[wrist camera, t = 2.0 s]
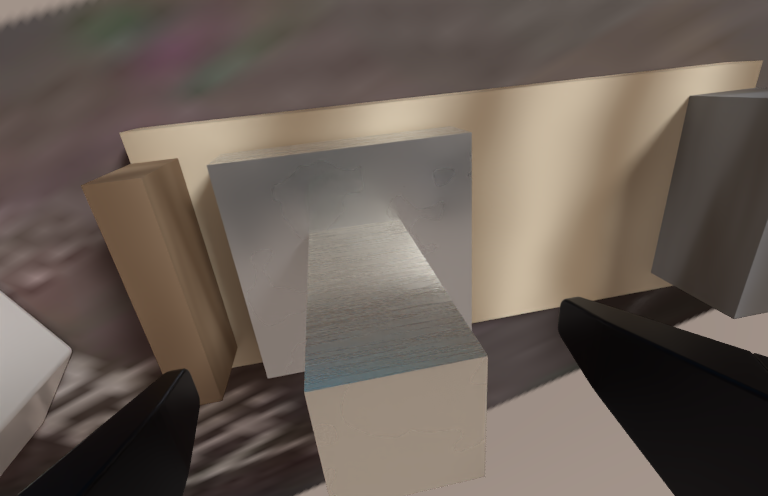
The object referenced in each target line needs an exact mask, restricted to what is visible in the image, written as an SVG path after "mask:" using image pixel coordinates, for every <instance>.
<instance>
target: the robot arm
mask: <svg viewBox="0 0 768 496" xmlns="http://www.w3.org/2000/svg"><path fill="white" fill-rule="evenodd" d="M558 331H559V334H560V336H561V338H562V340H563V341H564V343H565V344H566V346H567V348H568V349H569V351H570V352H571V354H572V356H573V357H574V359H575V361H576V362H577V364H578V365H579V367H580V369H581V370H582V372H583V374H584V375H585V377H586V378H587V380H588V381H589V383H590V384H591V386H592V388H593V389H594V390H595V392H596V393H597V394H598V396H599V397H600V398H601V400H602V401H603V402H604V404H605V405H606V406H607V408H608V409H609V410H610V412H611V413H612V414H613V415H614V417H615V418H616V419H617V421H618V422H619V423H620V425H621V426H622V427H623V429H624V430H625V431H626V433H627V434H628V435H629V436H630V438H631V439H632V440H633V442H634V443H635V444H636V446H637V447H638V448H639V450H640V451H641V452H642V454H643V455H644V456H645V457H646V459H647V460H648V461H649V462H650V464H651V465H652V467H653V468H654V469H655V471H656V472H657V473H658V474H659V476H660V477H661V478H662V480H663V481H664V482H665V483H666V485H667V486H668V488H669V489H670V490H671V491H672V493H673V494H674V495H675V496H768V357H766V356H763V355H759V354H756V353H754V354H752V353H751V352H750V351H747V350H744V349H741V348H738V347H735V346H731V345H728V344H725V343H722V342H719V341H716V340H713V339H710V338H707V337H703V336H700V335H697V334H694V333H691V332H688V331H685V330H681V329H679V328H676V327H672V326H669V325H666V324H663V323H660V322H657V321H654V320H651V319H648V318H644V317H641V316H638V315H635V314H632V313H629V312H626V311H623V310H620V309H617V308H613V307H610V306H607V305H604V304H601V303H598V302H595V301H592V300H589V299H585V298H582V297H572V298H566V299H564V300H562V302H561V304H560V311H559V320H558ZM199 408H200V398H199V394H198V391H197V389H196V386H195V384H194V381H193V379H192V376H191V374H190V372H189V371H188V370H187V369H185V368H183V369H177V370H172V371H168V372H166V373H164V374H163V375H162V376H161V377H160V378H158V379H157V380H156V381H155V382H154V383H152V384H151V385H150V386H149V387H147V388H146V389H145V390H144V391H143V392H141V393H140V394H139V395H138V396H137V397H135V398H134V399H133V400H132V401H131V402H129V403H128V404H127V405H126V406H124V407H123V408H122V409H121V410H120V411H118V412H117V413H116V414H115V415H114V416H112V417H111V418H110V419H109V420H108V421H106V422H105V423H104V424H103V425H101V426H100V427H99V428H98V429H97V430H95V431H94V432H93V433H92V434H91V435H89V436H88V437H87V438H86V439H85V440H83V441H82V442H81V443H80V444H78V445H77V446H76V447H75V448H74V449H72V450H71V451H70V452H69V453H68V454H66V455H65V456H64V457H63V458H61V459H60V460H59V461H58V462H57V463H55V464H54V465H53V466H52V467H51V468H49V469H48V470H47V471H46V472H45V473H43V474H42V475H41V476H40V477H38V478H37V479H36V480H35V481H34V482H32V483H31V484H30V485H29V486H28V487H26V488H25V489H24V490H23V491H22V492H20V493H19V494H18V495H17V496H183V493H184V489H185V485H186V481H187V477H188V473H189V468H190V463H191V457H192V451H193V445H194V439H195V433H196V426H197V420H198V414H199Z"/></svg>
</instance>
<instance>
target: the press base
mask: <svg viewBox="0 0 768 496" xmlns="http://www.w3.org/2000/svg"><path fill="white" fill-rule="evenodd" d="M762 62H763V60H762V61H743V62H725V63H716V64H707V65H698V66H689V67H680V68H671V69H663V70H654V71H645V72H636V73H627V74H618V75H609V76H600V77H591V78H582V79H573V80H564V81H555V82H546V83H537V84H528V85H519V86H510V87H501V88H493V89H484V90H475V91H466V92H457V93H448V94H439V95H430V96H421V97H412V98H403V99H394V100H385V101H376V102H367V103H358V104H349V105H340V106H331V107H323V108H314V109H305V110H296V111H287V112H278V113H269V114H260V115H251V116H242V117H233V118H224V119H215V120H206V121H197V122H188V123H179V124H170V125H161V126H153V127H144V128H137V129H133V130H129V131H125V132H121V133H120V136H121V138H122V141H123V144H124V146H125V149H126V152H127V155H128V157H129V160H130V163H131V164H129V165H127V166H125V167H122V168H120V169H118V170H116V171H113V172H111V173H109V174H106V175H104V176H102V177H99V178H97V179H95V180H93V181H90V182H88V183H86V184H83V185H81V187H82V189H83V191H84V194H85V196H86V198H87V201H88V203H89V205H90V208H91V210H92V212H93V214H94V217H95V219H96V221H97V224H98V226H99V228H100V231H101V233H102V235H103V238H104V240H105V242H106V244H107V247H108V249H109V251H110V254H111V256H112V258H113V261H114V263H115V265H116V268H117V270H118V272H119V274H120V277H121V279H122V281H123V284H124V286H125V288H126V291H127V293H128V295H129V298H130V300H131V302H132V305H133V307H134V309H135V311H136V314H137V316H138V318H139V321H140V323H141V325H142V328H143V330H144V332H145V335H146V337H147V339H148V341H149V344H150V346H151V348H152V351H153V353H154V355H155V358H156V360H157V362H158V365H159V367H160V369H161V371H162V374H164V373H166V372H168V371H172V370H177V369H183V368H185V369H187V370H188V371H189V372H190V374H191V376H192V379H193V381H194V384H195V386H196V389H197V391H198V394H199V398H200V405H203V404H208V403H213V402H219V401H222V400H223V397H224V393H225V390H226V386H227V383H228V379H229V376H230V372H231V369H232V368H234V367H239V366H245V365H250V364H256V363H261V362H263V360H262V357H261V353H260V350H259V346H258V343H257V340H256V336H255V333H254V329H253V326H252V322H251V319H250V315H249V312H248V308H247V305H246V301H245V298H244V294H243V291H242V287H241V284H240V280H239V277H238V273H237V270H236V267H235V263H234V260H233V256H232V253H231V249H230V246H229V242H228V239H227V235H226V232H225V228H224V225H223V221H222V218H221V214H220V211H219V207H218V204H217V200H216V197H215V194H214V190H213V187H212V183H211V180H210V176H209V173H208V169H207V166H206V165H208V164H209V163H210V162H212V161H213V160H214V159H216V158H217V157H218V156H220V155H221V154H225V153H234V152H242V151H250V150H258V149H266V148H275V147H283V146H291V145H299V144H307V143H315V142H324V141H332V140H340V139H348V138H356V137H365V136H373V135H381V134H389V133H397V132H405V131H414V130H422V129H430V128H438V127H446V126H452V127H456V128H459V129H462V130H466V131H469V132H472V323H476V322H481V321H486V320H492V319H497V318H502V317H508V316H513V315H518V314H524V313H529V312H535V311H540V310H545V309H551V308H556V307H560V304H561V302H562V300H564V299H566V298H572V297H582V298H585V299H589V300H592V301H594V300H599V299H604V298H610V297H615V296H620V295H626V294H631V293H637V292H642V291H647V290H653V289H658V288H663V287H669V286H675V287H677V288H679V289H681V290H683V291H684V292H686V293H688V294H690V295H691V296H693V297H695V298H697V299H699V300H700V301H702V302H704V303H706V304H708V305H709V306H711V307H713V308H715V309H717V310H718V311H720V312H722V313H724V314H726V315H728V316H729V317H731V318H733V319H736V318H742V317H746V316H751V315H756V314H761V313H766V312H768V88H755V86H756V83H757V79H758V76H759V72H760V69H761V65H762Z"/></svg>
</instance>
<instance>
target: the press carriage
mask: <svg viewBox="0 0 768 496" xmlns="http://www.w3.org/2000/svg"><path fill="white" fill-rule="evenodd" d="M206 166H207V169H208V173H209V176H210V180H211V183H212V187H213V190H214V194H215V197H216V200H217V204H218V207H219V211H220V214H221V218H222V221H223V225H224V228H225V232H226V235H227V239H228V242H229V246H230V249H231V253H232V256H233V260H234V263H235V267H236V270H237V273H238V277H239V280H240V284H241V287H242V291H243V294H244V298H245V301H246V305H247V308H248V312H249V315H250V319H251V322H252V326H253V329H254V333H255V336H256V340H257V343H258V346H259V350H260V353H261V357H262V360H263V364H264V367H265V371H266V374H267V378H273V377H278V376H284V375H289V374H294V373H299V372H305V382H304V394H305V398H306V402H307V406H308V411H309V415H310V419H311V423H312V427H313V431H314V435H315V440H316V444H317V448H318V452H319V456H320V460H321V464H322V469H323V473H324V477H325V481H326V485H327V489H328V493H329V496H405V495H410V494H414V493H418V492H423V491H427V490H431V489H435V488H439V487H444V486H448V485H452V484H456V483H461V482H464V481H468V480H473V479H477V478H481V477H485V455H486V411H487V366H488V356H487V354H486V353H485V351H484V350H483V348H482V347H481V345H480V343H479V342H478V340H477V339H476V337H475V336H474V334H473V332H472V132H469V131H466V130H462V129H459V128H456V127H452V126H446V127H438V128H430V129H422V130H414V131H405V132H397V133H389V134H381V135H373V136H365V137H356V138H348V139H340V140H332V141H324V142H315V143H307V144H299V145H291V146H283V147H275V148H266V149H258V150H250V151H242V152H234V153H225V154H221V155H220V156H218V157H217V158H216V159H214V160H213V161H212V162H210V163H209V164H208V165H206Z"/></svg>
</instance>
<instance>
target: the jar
mask: <svg viewBox="0 0 768 496" xmlns="http://www.w3.org/2000/svg"><path fill="white" fill-rule="evenodd" d="M71 354H72V349H71V348H70V346H68V345H67V344H66V343H65V342H64V341H62V340H61V339H60V338H59V337H57V336H56V335H55V334H54V333H52V332H51V331H50V330H49V329H48V328H46V327H45V326H44V325H43V324H41V323H40V322H39V321H38V320H36V319H35V318H34V317H33V316H32V315H30V314H29V313H28V312H27V311H25V310H24V309H23V308H22V307H20V306H19V305H18V304H17V303H16V302H14V301H13V300H12V299H11V298H9V297H8V296H7V295H6V294H4V293H3V292H2V291H1V290H0V476H1V475H2V474H3V472H4V471H5V470H6V469H7V467H8V466H9V465H10V464H11V462H12V461H13V460H14V459H15V457H16V456H17V455H18V454H19V452H20V451H21V450H22V449H23V447H24V446H25V445H26V444H27V442H28V441H29V440H30V439H31V437H32V436H33V435H34V434H35V432H36V431H37V430H38V429H39V427H40V426H41V425H42V424H43V422H44V420H45V417H46V415H47V412H48V410H49V407H50V405H51V402H52V400H53V398H54V395H55V393H56V390H57V388H58V385H59V383H60V380H61V378H62V376H63V373H64V371H65V368H66V366H67V363H68V361H69V359H70V356H71Z"/></svg>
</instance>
